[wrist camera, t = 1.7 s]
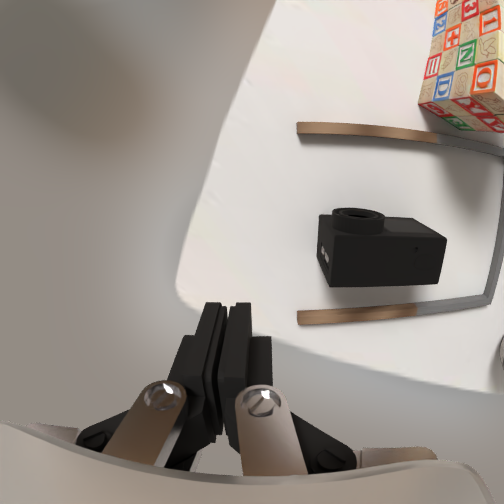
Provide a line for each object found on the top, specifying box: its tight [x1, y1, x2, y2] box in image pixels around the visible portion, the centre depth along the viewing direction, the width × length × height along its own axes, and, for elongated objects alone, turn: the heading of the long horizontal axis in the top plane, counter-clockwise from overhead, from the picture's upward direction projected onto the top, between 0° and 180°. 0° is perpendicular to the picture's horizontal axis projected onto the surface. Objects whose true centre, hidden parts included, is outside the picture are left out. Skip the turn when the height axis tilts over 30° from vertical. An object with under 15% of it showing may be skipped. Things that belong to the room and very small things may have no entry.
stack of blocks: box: [418, 0, 504, 133], centre depth 14 cm, size 21×6×12 cm, turn 164°
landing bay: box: [414, 133, 504, 315], centre depth 26 cm, size 13×20×1 cm, turn 3°
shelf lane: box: [297, 122, 437, 325], centre depth 27 cm, size 14×20×1 cm
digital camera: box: [317, 208, 447, 287], centre depth 24 cm, size 10×5×7 cm, turn 90°
